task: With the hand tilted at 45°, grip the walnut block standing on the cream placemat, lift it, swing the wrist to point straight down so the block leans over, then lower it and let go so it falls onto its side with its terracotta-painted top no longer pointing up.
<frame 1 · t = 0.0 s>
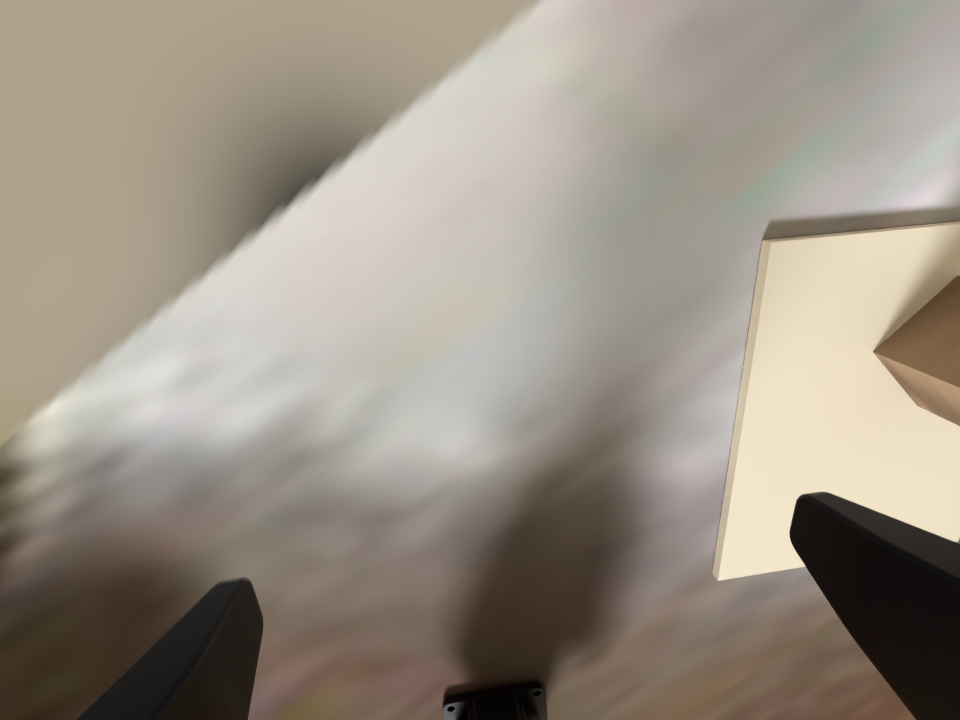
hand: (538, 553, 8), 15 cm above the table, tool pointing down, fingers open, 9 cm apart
placemat: (871, 412, 27), on the table
walnut block: (936, 344, 25), point 1 cm above the table, touching placemat
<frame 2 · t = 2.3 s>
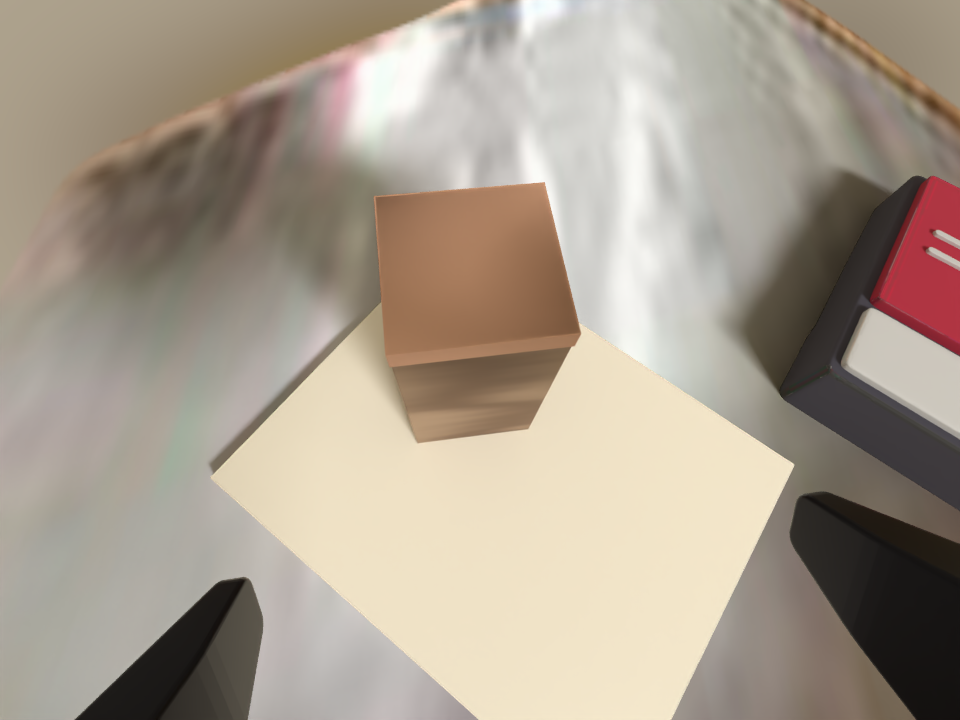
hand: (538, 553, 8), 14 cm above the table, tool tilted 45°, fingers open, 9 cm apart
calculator: (921, 351, 26), on the table
placemat: (509, 473, 22), on the table
walnut block: (466, 383, 23), point 1 cm above the table, touching placemat
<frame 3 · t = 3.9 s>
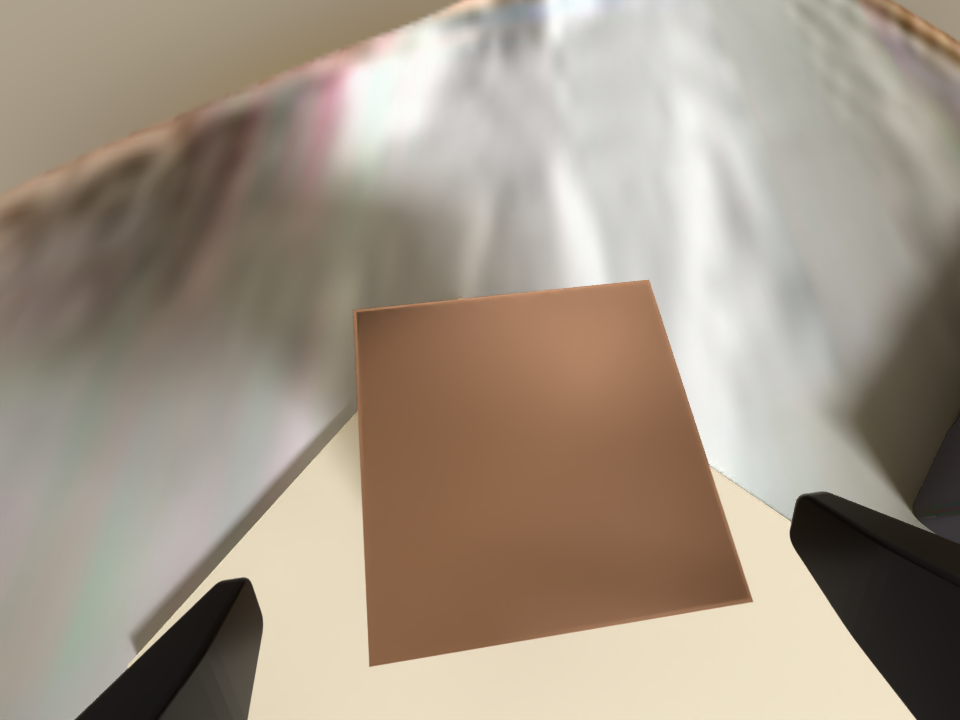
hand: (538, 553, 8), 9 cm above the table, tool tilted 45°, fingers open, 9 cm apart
placemat: (553, 645, 15), on the table
walnut block: (491, 512, 16), point 1 cm above the table, touching placemat
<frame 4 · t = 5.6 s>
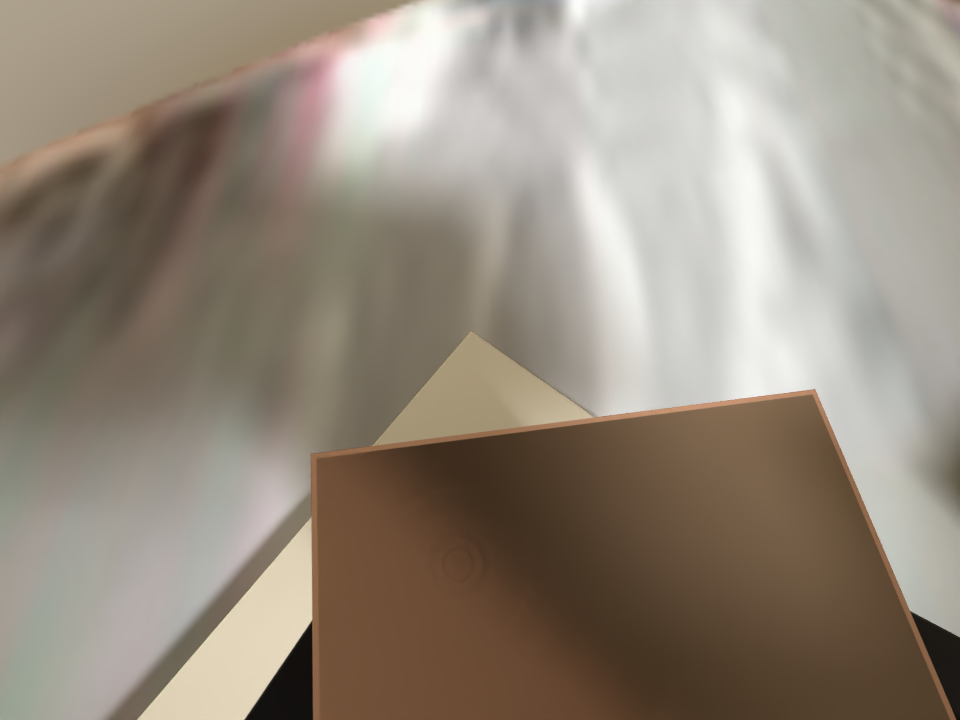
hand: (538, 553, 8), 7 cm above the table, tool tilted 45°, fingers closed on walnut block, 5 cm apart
walnut block: (512, 613, 13), point 1 cm above the table, touching gripper, placemat
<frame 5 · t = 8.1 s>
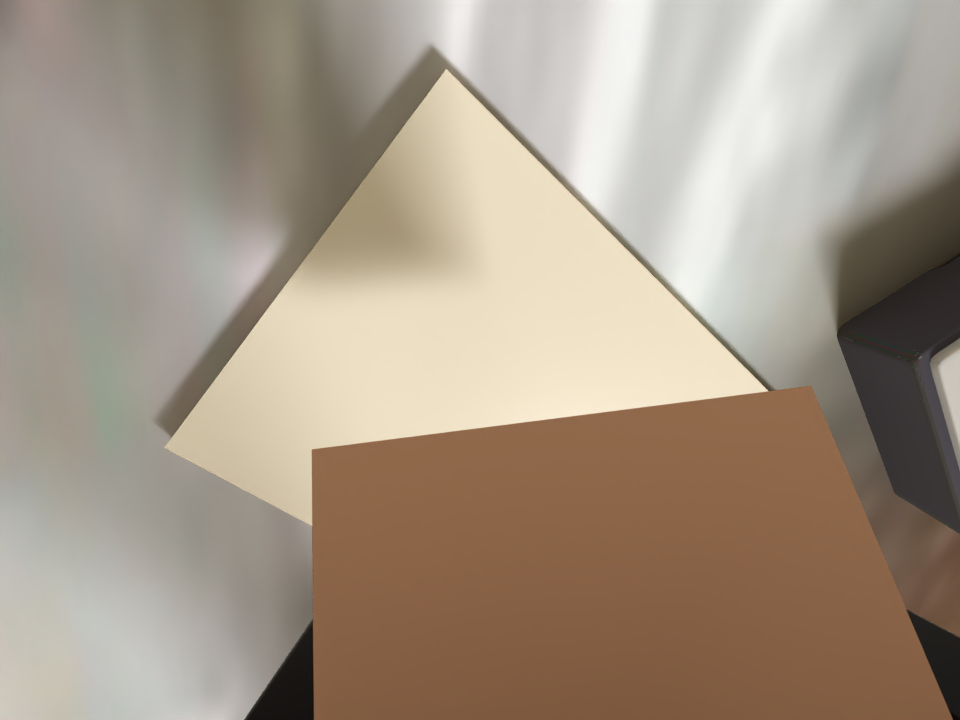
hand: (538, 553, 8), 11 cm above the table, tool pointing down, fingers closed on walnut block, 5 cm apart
placemat: (510, 428, 20), on the table
walnut block: (512, 611, 13), point 8 cm above the table, tilted 45°, touching gripper
when the fingers open (7 cm above the table, at t = 10.2 s): walnut block moves 2 cm and tips over, resting on placemat.
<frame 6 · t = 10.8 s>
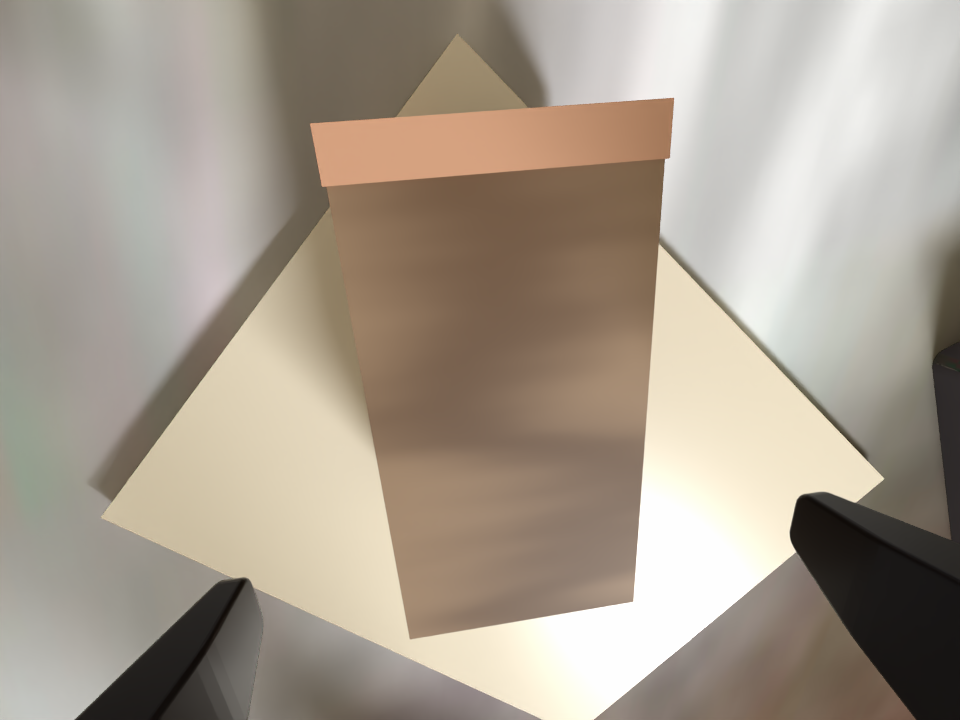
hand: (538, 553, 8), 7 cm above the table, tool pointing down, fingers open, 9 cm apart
placemat: (531, 484, 16), on the table
walnut block: (504, 538, 13), point 3 cm above the table, tilted 90°, touching placemat
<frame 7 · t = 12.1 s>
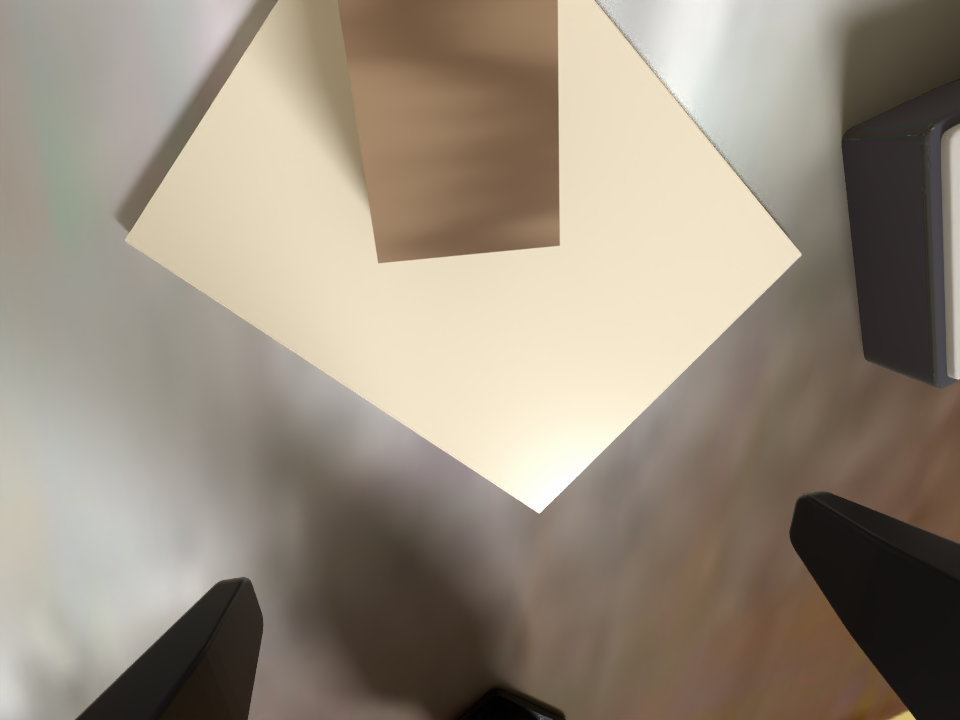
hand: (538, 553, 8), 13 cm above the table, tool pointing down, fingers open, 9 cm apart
placemat: (492, 245, 19), on the table
walnut block: (461, 240, 16), point 3 cm above the table, tilted 90°, touching placemat
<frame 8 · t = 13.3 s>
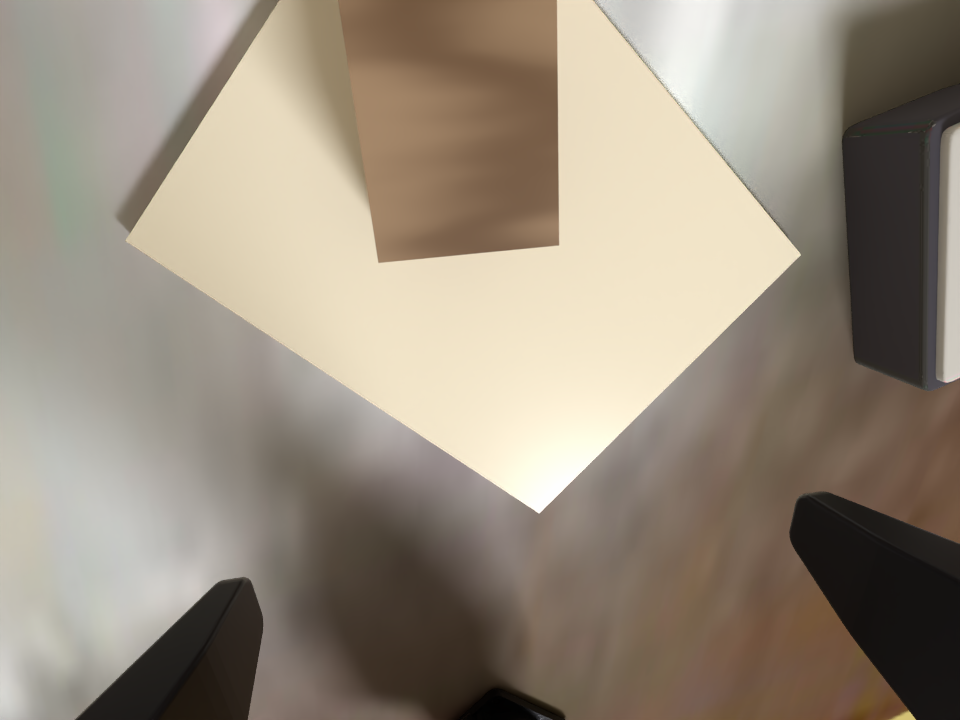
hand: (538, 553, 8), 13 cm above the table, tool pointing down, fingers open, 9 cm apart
placemat: (492, 246, 19), on the table
walnut block: (461, 240, 16), point 3 cm above the table, tilted 90°, touching placemat
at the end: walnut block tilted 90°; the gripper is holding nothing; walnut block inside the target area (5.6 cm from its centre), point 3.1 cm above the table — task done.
